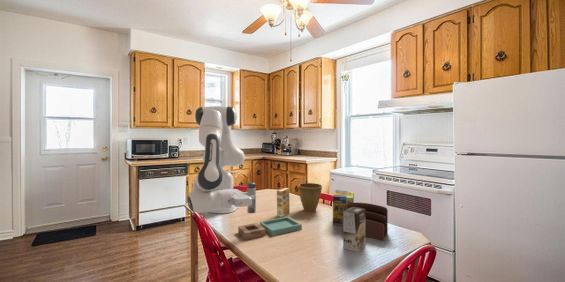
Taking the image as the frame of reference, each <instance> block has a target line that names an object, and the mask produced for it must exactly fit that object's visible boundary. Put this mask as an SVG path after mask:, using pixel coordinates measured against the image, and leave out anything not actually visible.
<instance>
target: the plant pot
mask: <svg viewBox="0 0 565 282" xmlns="http://www.w3.org/2000/svg"><path fill="white" fill-rule="evenodd" d="M297 187H298V192H299V193H298V194H299V199H300V203H301V205H302V209H303V211H305V212H309V213H313V212H316V210H317V208H318V205H319V202H320V199H321V195H322V190H323V185H322V184H319V183H313V182H304V183H303V182H302V183H299V184H298V186H297Z"/></svg>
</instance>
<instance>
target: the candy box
mask: <svg viewBox="0 0 565 282" xmlns="http://www.w3.org/2000/svg"><path fill="white" fill-rule="evenodd" d="M290 206H291V205H290V188H288V187H282V188H280V189H278V190H276V217H279V218H283V217H286V216H287V215H289V214H290V213H291V211H290Z"/></svg>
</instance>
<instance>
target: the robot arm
mask: <svg viewBox="0 0 565 282" xmlns="http://www.w3.org/2000/svg"><path fill="white" fill-rule="evenodd" d="M194 113H195V115H194V119H195V122H196V123H197V125H198V126H199V129H198V141H199V144H200V145H202V146H203V147H204V152H203V155H202V161H203V165H202V167H201V169H200V170H199V172H198V174H197V175H196V176H195V178H194V180H193V184H192V188H191V190H190V192H189V194H188V195H187V204H188V205H187V206H188V208H189V210H190V211H191V212H192V213H197V214H199V213H208V212H209V213H210V214H211V213H213V214H214V213H215V214H229V213H234V212H236V210H238V209H239V208H241V207H247V206H250V205H252V199H257V194H256V195H251V196H248V195H247V192H244V191H243V192H242V191H241V190H239V189H236V188H235V187H234V176H233V174H232V173H231V172H228V171H227V170H225V168H224V167H237V166H241V165H243V163H244V162H245V157H246V156H245V152H244V151H243V150H242V149H240V148H238V147H237V145H236V144H235V143H234V141H233V139H232V138H233V137H232V131H231V130H232V129H231V126H234V125H235V124H236V122H237V118H238V114H237V111H236V109H235V108H234V107H232V106H225V105H224V106H222V105H215V106H213V105H211V106H200V107H198V108H196V110H195V112H194Z"/></svg>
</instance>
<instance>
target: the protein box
mask: <svg viewBox="0 0 565 282" xmlns="http://www.w3.org/2000/svg"><path fill="white" fill-rule="evenodd" d="M354 199H355V192H354V191H349V190H346V191H345V190H335V192H334V194H333V196H332V225H333V226H340V227H342V218H343V217H344V210H346V209H347V203H349V202H355V200H354Z"/></svg>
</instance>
